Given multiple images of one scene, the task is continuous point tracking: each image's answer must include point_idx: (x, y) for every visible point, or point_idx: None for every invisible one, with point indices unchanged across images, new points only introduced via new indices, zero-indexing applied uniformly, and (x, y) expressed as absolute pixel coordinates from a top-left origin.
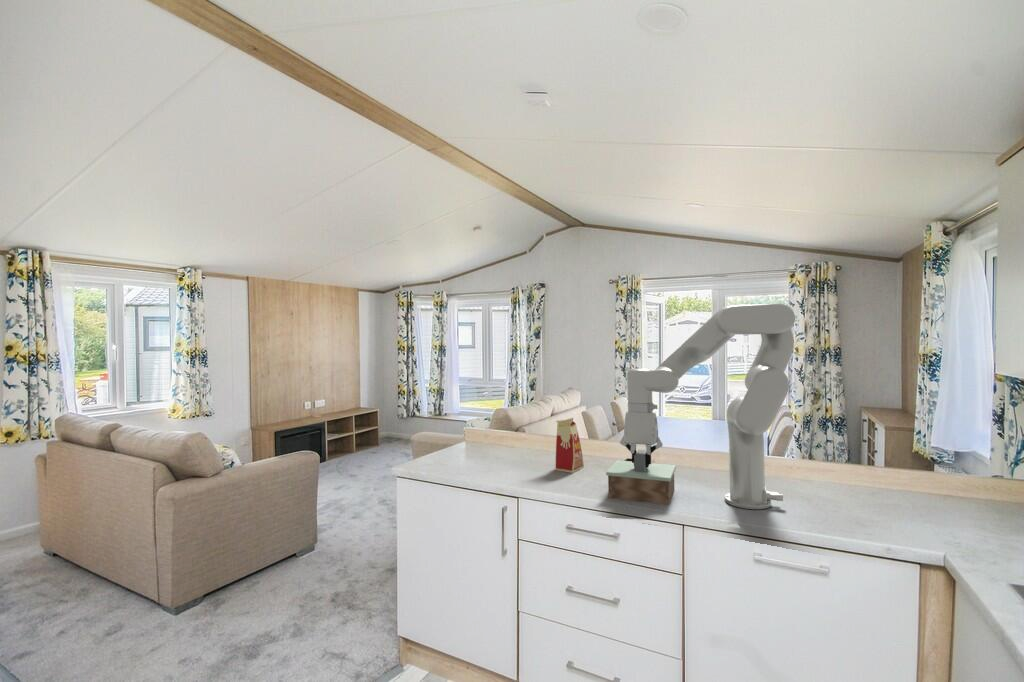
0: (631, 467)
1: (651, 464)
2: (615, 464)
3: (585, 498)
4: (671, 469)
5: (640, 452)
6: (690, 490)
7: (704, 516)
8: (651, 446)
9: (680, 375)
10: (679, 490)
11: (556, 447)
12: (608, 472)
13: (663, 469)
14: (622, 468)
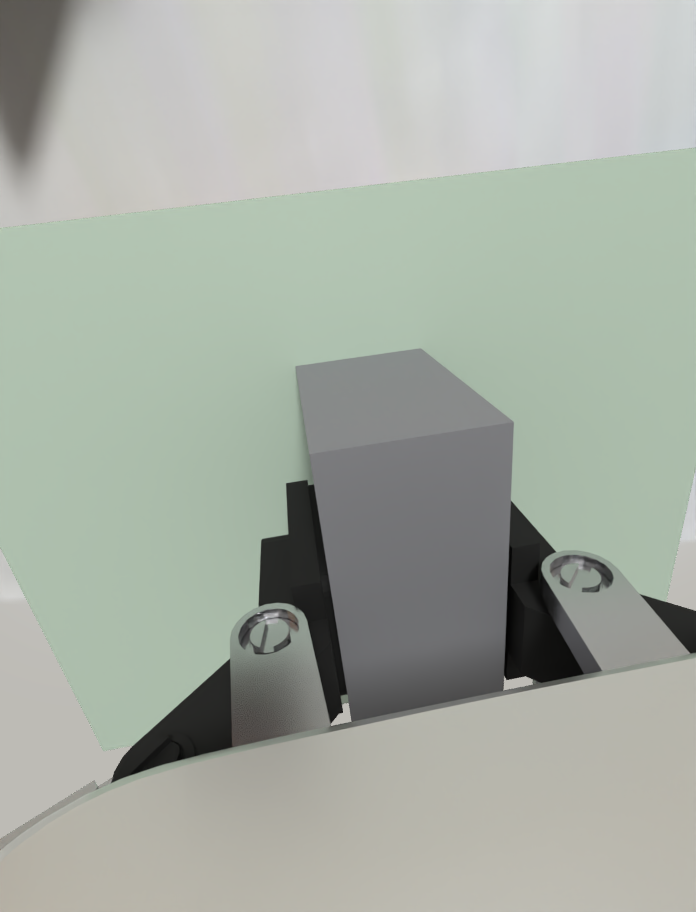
0: (252, 515)
1: (445, 263)
2: (5, 488)
3: (16, 598)
4: (689, 386)
5: (407, 633)
6: (667, 22)
7: (689, 522)
8: (674, 646)
9: None
10: (576, 73)
11: None
12: (127, 745)
13: (604, 425)
14: (180, 593)
